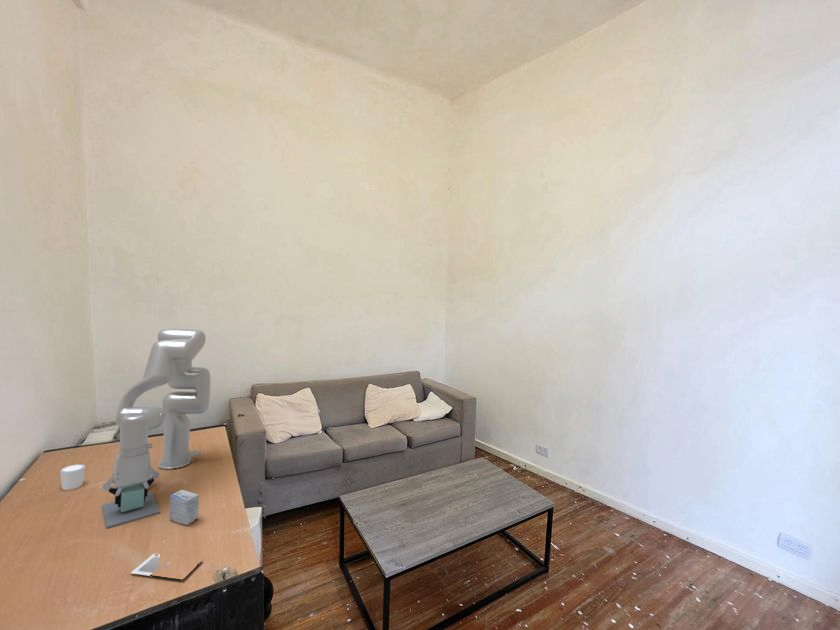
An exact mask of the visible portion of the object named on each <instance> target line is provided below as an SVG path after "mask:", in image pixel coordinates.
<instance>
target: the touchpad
mask: <svg viewBox="0 0 840 630" xmlns="http://www.w3.org/2000/svg"><path fill="white" fill-rule="evenodd" d="M155 554H156V553H152V554H151V555H150V556H149V557H148V558H147V559H145V560H143V562H142V563H140V564H139V565H138V566H137V567H136V568H134V569H133V570H132V571H130V574H134V575H141V576H149V577H151V576H150V574H152V572H156V570H159V569H158V565H159V563H160V564H162V562H160V561H159V559H160V554H161V553H158V554H159V555H158V556H155ZM176 558H177V557H176ZM156 561H157V562H158V563H156ZM170 564H171V563H170V561H169V562H168V563H166V566H165V568H167V567H168V566H169V565H170ZM155 567H157V569H156V568H155ZM161 567H162V566H159V568H161ZM154 570H155V571H154ZM159 571H161V570H159ZM157 572H158V571H157ZM157 572H156V573H157Z"/></svg>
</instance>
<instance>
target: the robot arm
mask: <svg viewBox="0 0 840 630" xmlns="http://www.w3.org/2000/svg"><path fill="white" fill-rule="evenodd" d="M157 340H158V341H155V342H154V343H153V344H152V346H151V350H150V353H149V356H148V359H147V361H146V367H145V368H144V373H143V376H142V378H141V379H140V380H138V381H136V383H134V384H133V385H132V386H131V387H129V389H128V390H127V391H125V393H124V394H123V396H122V398H121V399H120V403H119V405H118V409H117V413H116V416H115V424H116V426H117V427H118V428H119V429H120V430H119V431H120V432H119V452H118V454H117V455H116V456H115V460H114V465H113V471H112V472H113V473H112V476H111V477H110V478H109V479H108V480H107V481H106V482H105V483H104V484H103V485H102V489H103V490H104V491H106V492H109V493H110V494H112V495H114V497H115V498H114V502H115V505H116V504H117V505H118V507H120V506H121V494H120V492H121V490H122V488H123V487H124V486H128V485H133V484H137V483H141V482H142V483H143V487H144V501H145V497H146V496H147V493H149V492H148V491H149V488H150V486H151V485H152V484H154V482H155V480H157V479H158V478H159V477H160V475H161V474H160V472H158V471H156V470H155V469H152V468H153V467H152V461H151V453H150V450H149V449H152V448H153V443H149V442H148V437H149V431H152V430H154V429H157V428H159V427H160V426H162V425H163V441H162V442H163V447H162V458H161V459H160V460H159V462H158V464H157V466H158V468H159V469H161V468H162V469H161V470H173V469H172V468H177V469H179V468H178V467H182V466H184V465H186V464H188V463H190V462H191V461H192V462H193V458H194V457H197V456H201V455H202V452H201V450H196V449H195V450H190V434H191V421H190V419H189V417H188V415H200V414H201V415H203V414H204V413H206V412H207V411H208V410H209V407H210V395H211V393H210V391H211V373H210V370H209V369H208V368H205V367H202V366H201V367H199V366H198V367H195V366H193V360H194V359H195V357H196V356H197V355H198V354H199V353H200V352H201V351H202V350H203V348H204V346H205V343H206V334H205V332H203V331H202V330H200V329H190V328H189V329H185V328H184V329H183V328H164V329H161V330H159V331H158V333H157ZM166 384H168V386H169V388H170V389H174V390H175V389H176V390H195V391H172V392H171V391H170V392H169V393H167V394H166V395H165V396H164V397H163V398H162V402H161V403H162V404H161V405H162V407H158V406H134V404H135V402H136V401H137V399H138V398H140V396H141V395H143V394H145V393H147V392H149V391H150V390H154V389H155V388H158V387H161V386H165V385H166ZM192 462H191V463H192ZM191 463H190V464H191ZM151 467H152V468H151ZM182 468H183V467H182ZM112 484H113V486H114V487H113V486H112Z"/></svg>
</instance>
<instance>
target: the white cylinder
mask: <svg viewBox="0 0 840 630" xmlns="http://www.w3.org/2000/svg"><path fill="white" fill-rule="evenodd" d="M59 471H60V472H59V473H60V481H61V483H60V484H61V489H62V490H64V491H70V490H71V491H72V490H74V489H77V488H81V486H83V484H84V483H83V482H84V477H85V471H86V465H85V464H82V463H80V464H71V465H67V466H65V467H63V468H61V469H60V470H59Z"/></svg>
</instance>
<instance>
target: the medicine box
mask: <svg viewBox="0 0 840 630" xmlns="http://www.w3.org/2000/svg"><path fill="white" fill-rule="evenodd" d="M199 496H200V494H198V493H196V492H195V493H194V492H191V491H188V490H186V489H180V490H179V491H176V492H174V493H172V494H171V495H170V497H169V519H170V520H173V521H172V522H174V521H176V522H175V523H177V522H179V523H178V524H180V523H182V524H181V525H183V524H186V525H187V524H189V523H190V522H192V521H193V520H195V519H196V518H198V519H199V508H200V506H199V504H200V503H199V502H200V501H199V500H200V497H199ZM170 520H169V521H170ZM186 525H185V526H186ZM189 525H190V524H189Z"/></svg>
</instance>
